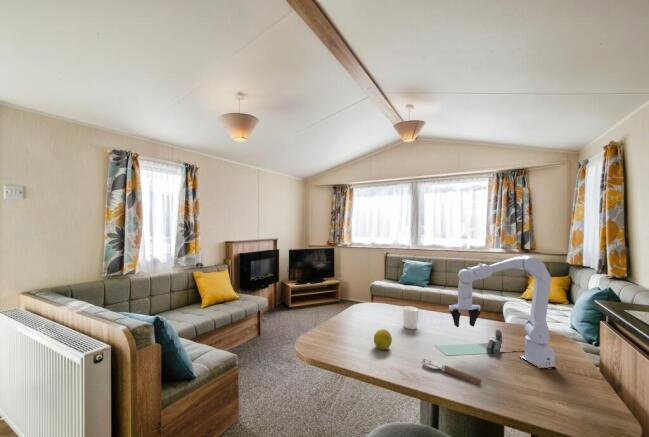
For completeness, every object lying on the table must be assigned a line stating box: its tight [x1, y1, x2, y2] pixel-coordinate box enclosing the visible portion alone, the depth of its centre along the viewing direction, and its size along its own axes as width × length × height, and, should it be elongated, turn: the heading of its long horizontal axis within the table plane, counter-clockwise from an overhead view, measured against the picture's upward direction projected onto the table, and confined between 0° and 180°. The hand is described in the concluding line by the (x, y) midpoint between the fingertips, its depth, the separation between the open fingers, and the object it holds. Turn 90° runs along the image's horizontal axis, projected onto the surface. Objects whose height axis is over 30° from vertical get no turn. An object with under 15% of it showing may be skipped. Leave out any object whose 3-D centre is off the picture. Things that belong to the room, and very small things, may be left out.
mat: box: [435, 342, 500, 357], centre depth 124 cm, size 9×39×1 cm, turn 99°
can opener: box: [487, 329, 503, 357], centre depth 125 cm, size 19×5×6 cm, turn 143°
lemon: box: [373, 328, 393, 351], centre depth 122 cm, size 11×8×8 cm
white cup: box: [402, 305, 419, 330], centre depth 148 cm, size 8×8×10 cm
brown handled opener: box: [421, 356, 482, 386], centre depth 103 cm, size 20×6×3 cm, turn 50°
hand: (464, 325), depth 123 cm, fingers open, 7 cm apart
